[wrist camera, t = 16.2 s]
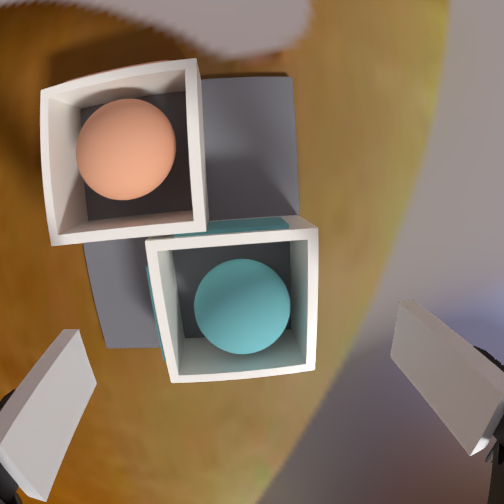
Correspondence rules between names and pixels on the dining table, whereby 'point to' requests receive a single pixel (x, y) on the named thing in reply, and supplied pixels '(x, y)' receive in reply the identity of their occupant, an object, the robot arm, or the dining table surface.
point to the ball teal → (242, 306)
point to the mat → (219, 201)
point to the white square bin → (201, 349)
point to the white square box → (65, 140)
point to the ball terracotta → (125, 149)
